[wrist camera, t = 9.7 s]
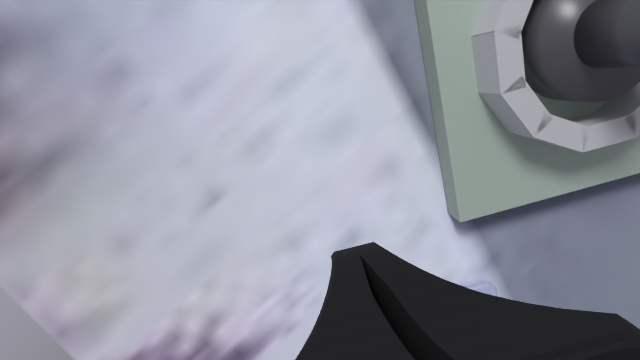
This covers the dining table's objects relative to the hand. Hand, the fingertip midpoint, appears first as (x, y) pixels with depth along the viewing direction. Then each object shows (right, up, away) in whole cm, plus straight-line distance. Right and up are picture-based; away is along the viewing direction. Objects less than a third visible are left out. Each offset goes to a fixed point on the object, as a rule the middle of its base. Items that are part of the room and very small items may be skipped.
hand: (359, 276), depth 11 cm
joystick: (+11, +10, +7) cm, 17 cm away
